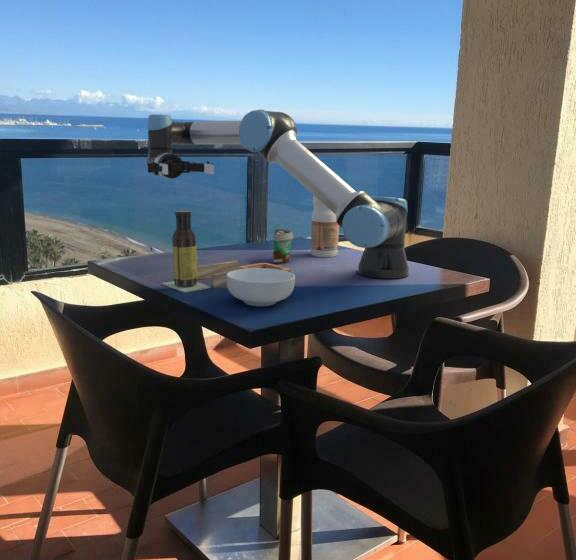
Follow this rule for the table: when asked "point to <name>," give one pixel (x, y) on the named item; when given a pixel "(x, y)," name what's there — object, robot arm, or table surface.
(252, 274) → the cereal bowl
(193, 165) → the robot arm
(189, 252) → the sauce bottle
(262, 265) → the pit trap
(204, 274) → the trough
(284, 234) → the food container
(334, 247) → the fruit juice
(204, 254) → the table surface
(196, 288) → the pad
